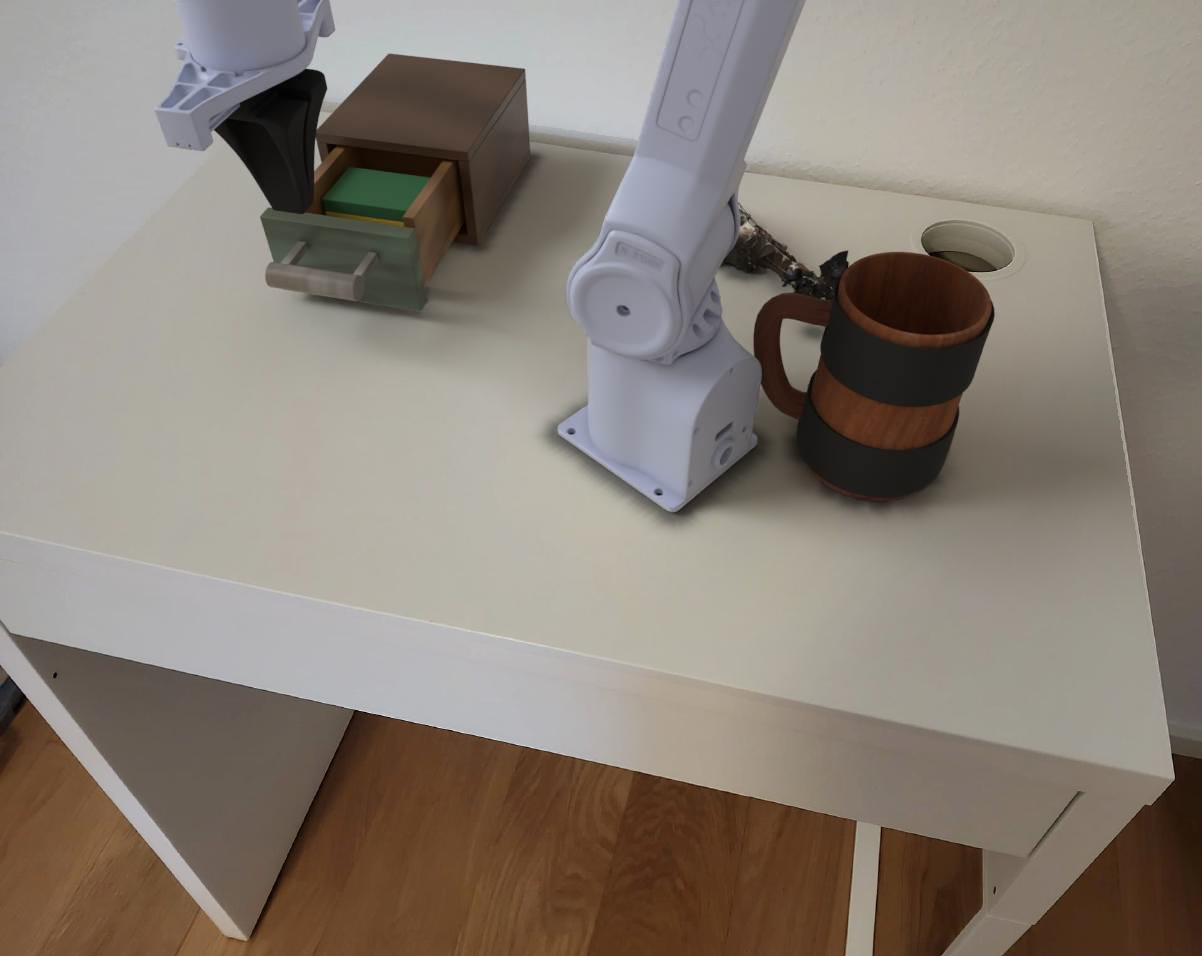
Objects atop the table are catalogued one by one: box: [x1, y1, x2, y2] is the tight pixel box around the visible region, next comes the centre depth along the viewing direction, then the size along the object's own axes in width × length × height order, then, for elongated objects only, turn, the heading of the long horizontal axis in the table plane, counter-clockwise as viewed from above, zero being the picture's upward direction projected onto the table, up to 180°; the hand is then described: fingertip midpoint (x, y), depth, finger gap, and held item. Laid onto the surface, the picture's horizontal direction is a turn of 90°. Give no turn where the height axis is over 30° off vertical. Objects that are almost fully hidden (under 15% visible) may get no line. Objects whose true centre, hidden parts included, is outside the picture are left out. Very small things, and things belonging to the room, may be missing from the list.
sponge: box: [322, 167, 430, 227], centre depth 66 cm, size 4×6×4 cm
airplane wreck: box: [722, 201, 850, 300], centre depth 65 cm, size 6×18×6 cm, turn 36°
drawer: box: [259, 145, 466, 312], centre depth 64 cm, size 17×10×6 cm, turn 166°
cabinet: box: [315, 53, 531, 246], centre depth 72 cm, size 14×12×8 cm
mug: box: [752, 251, 996, 502], centre depth 51 cm, size 9×12×12 cm
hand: (293, 206), depth 54 cm, fingers closed
